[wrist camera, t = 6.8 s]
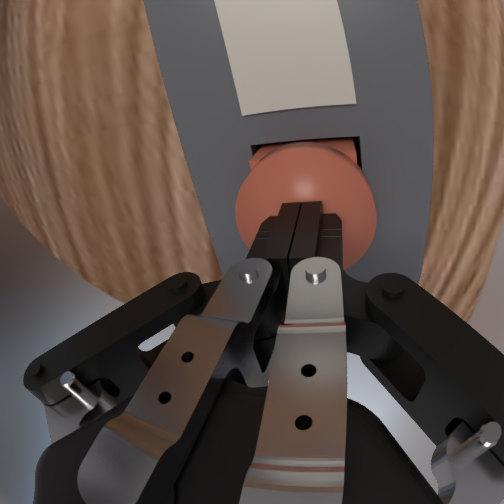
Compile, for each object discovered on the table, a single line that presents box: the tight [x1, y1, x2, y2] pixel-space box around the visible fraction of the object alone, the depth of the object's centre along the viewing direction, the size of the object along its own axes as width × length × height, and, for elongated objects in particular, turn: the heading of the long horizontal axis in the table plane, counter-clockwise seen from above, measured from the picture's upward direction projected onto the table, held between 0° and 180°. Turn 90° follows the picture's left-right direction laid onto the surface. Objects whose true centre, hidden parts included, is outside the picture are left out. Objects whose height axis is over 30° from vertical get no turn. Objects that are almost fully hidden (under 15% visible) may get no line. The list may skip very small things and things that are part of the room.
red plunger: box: [235, 137, 377, 270], centre depth 14 cm, size 6×6×8 cm
